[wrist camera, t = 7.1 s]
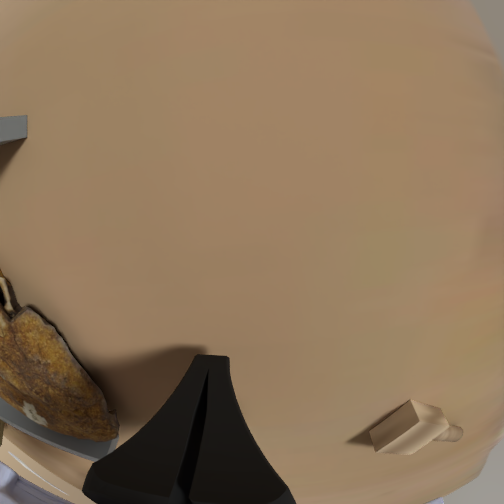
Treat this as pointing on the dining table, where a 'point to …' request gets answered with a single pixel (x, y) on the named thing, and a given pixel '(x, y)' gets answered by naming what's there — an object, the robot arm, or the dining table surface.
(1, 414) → the grey bracket
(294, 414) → the dining table surface
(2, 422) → the squeeze bottle
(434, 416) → the wooden mallet
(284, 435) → the dining table surface
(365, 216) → the dining table surface
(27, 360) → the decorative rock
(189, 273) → the dining table surface
